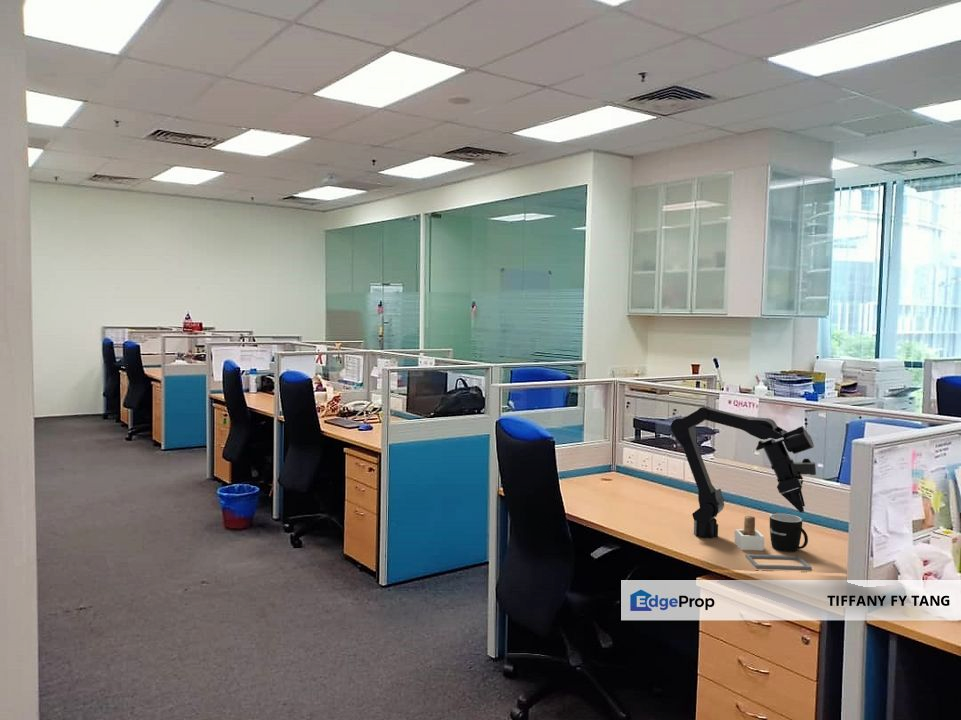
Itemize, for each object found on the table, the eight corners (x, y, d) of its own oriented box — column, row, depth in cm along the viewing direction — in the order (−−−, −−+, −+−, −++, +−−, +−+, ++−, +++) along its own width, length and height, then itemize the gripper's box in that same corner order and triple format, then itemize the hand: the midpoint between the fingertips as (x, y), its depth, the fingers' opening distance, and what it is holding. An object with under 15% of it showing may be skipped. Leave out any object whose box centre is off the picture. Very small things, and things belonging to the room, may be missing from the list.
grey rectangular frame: (755, 570, 191) (755, 565, 191) (745, 559, 200) (745, 554, 200) (811, 572, 190) (811, 567, 190) (798, 561, 199) (798, 556, 199)
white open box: (741, 552, 206) (741, 535, 206) (734, 545, 213) (734, 529, 212) (763, 553, 206) (764, 536, 206) (756, 545, 212) (756, 529, 212)
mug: (762, 548, 210) (763, 515, 209) (782, 544, 214) (783, 512, 214) (796, 560, 199) (797, 526, 199) (816, 556, 203) (818, 522, 203)
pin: (745, 547, 208) (746, 518, 207) (742, 544, 211) (743, 515, 210) (755, 548, 208) (756, 518, 207) (752, 545, 211) (753, 515, 210)
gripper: (806, 452, 195) (831, 505, 191) (807, 446, 211) (830, 495, 208) (766, 466, 199) (790, 518, 196) (771, 459, 216) (793, 507, 213)
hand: (802, 509), depth 203 cm, fingers open, 9 cm apart
